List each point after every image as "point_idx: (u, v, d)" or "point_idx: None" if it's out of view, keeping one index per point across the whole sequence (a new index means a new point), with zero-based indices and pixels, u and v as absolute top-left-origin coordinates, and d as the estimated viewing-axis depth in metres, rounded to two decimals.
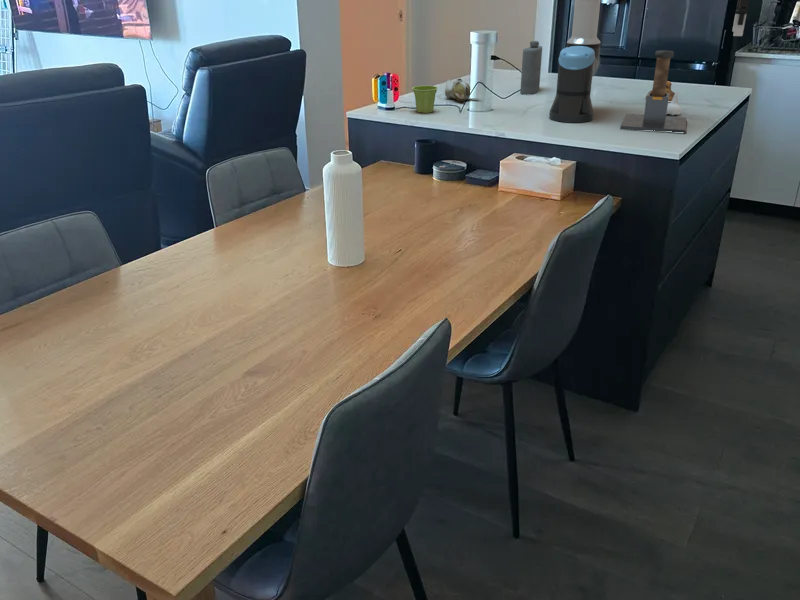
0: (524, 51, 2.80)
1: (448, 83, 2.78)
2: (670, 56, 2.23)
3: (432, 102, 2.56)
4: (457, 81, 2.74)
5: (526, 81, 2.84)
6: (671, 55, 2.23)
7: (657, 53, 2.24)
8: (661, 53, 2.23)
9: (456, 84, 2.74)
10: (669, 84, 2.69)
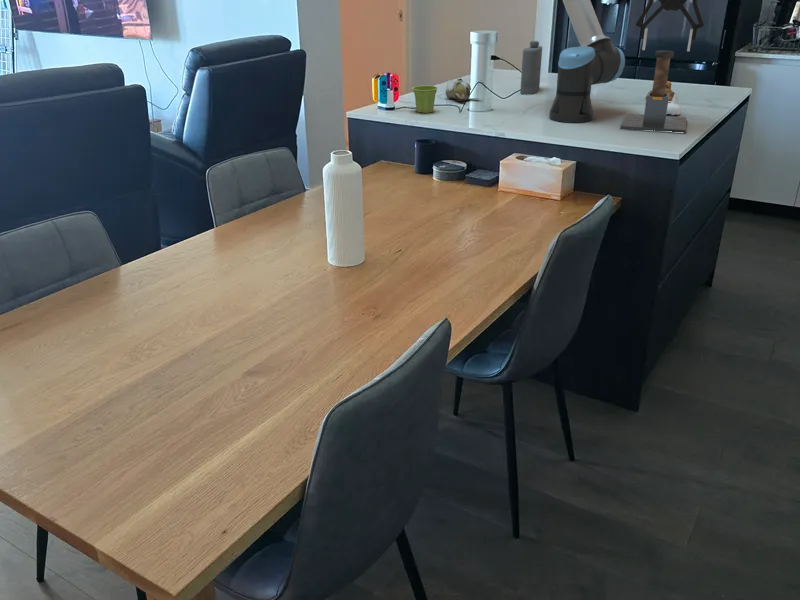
0: (524, 51, 2.80)
1: (449, 83, 2.78)
2: (670, 56, 2.23)
3: (432, 102, 2.56)
4: (458, 81, 2.74)
5: (526, 81, 2.84)
6: (671, 55, 2.23)
7: (657, 53, 2.24)
8: (661, 53, 2.23)
9: (456, 84, 2.74)
10: (669, 84, 2.69)
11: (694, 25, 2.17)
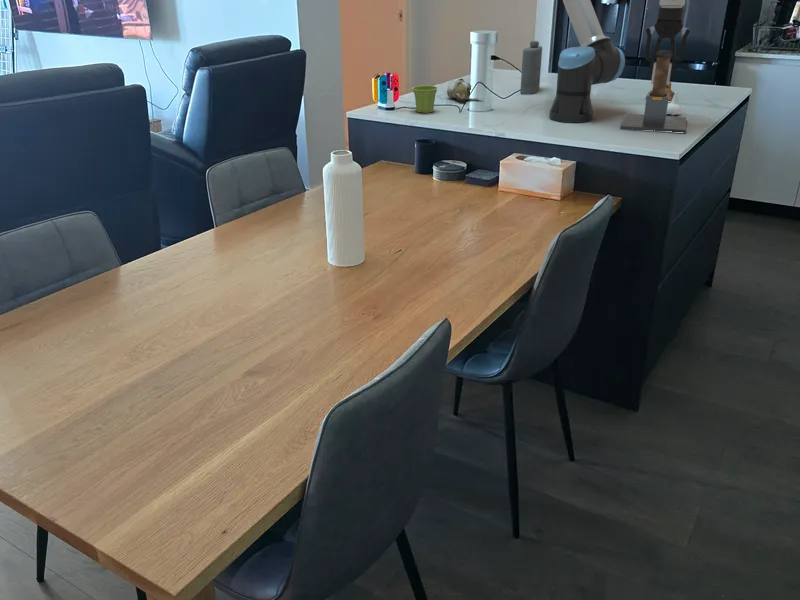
0: (524, 51, 2.80)
1: (450, 83, 2.78)
2: (670, 56, 2.23)
3: (432, 102, 2.56)
4: (459, 81, 2.75)
5: (526, 81, 2.84)
6: (671, 55, 2.23)
7: (657, 53, 2.24)
8: (661, 53, 2.23)
9: (457, 84, 2.74)
10: (669, 84, 2.69)
11: (674, 59, 2.24)
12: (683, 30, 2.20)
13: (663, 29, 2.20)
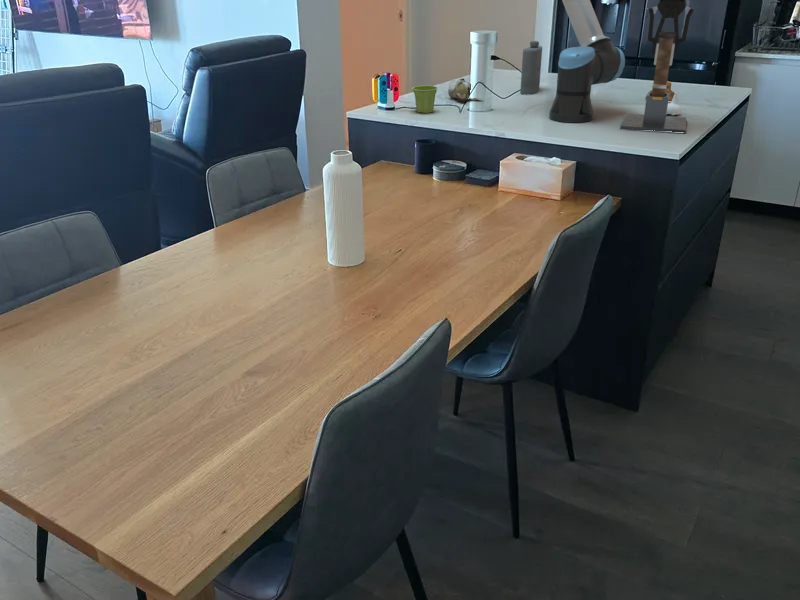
0: (524, 51, 2.80)
1: (451, 83, 2.78)
2: (673, 36, 2.20)
3: (432, 102, 2.56)
4: (460, 81, 2.75)
5: (526, 81, 2.84)
6: (674, 35, 2.20)
7: (660, 33, 2.21)
8: (664, 33, 2.20)
9: (458, 84, 2.74)
10: (669, 84, 2.69)
11: (677, 39, 2.21)
12: (686, 10, 2.17)
13: (666, 9, 2.18)
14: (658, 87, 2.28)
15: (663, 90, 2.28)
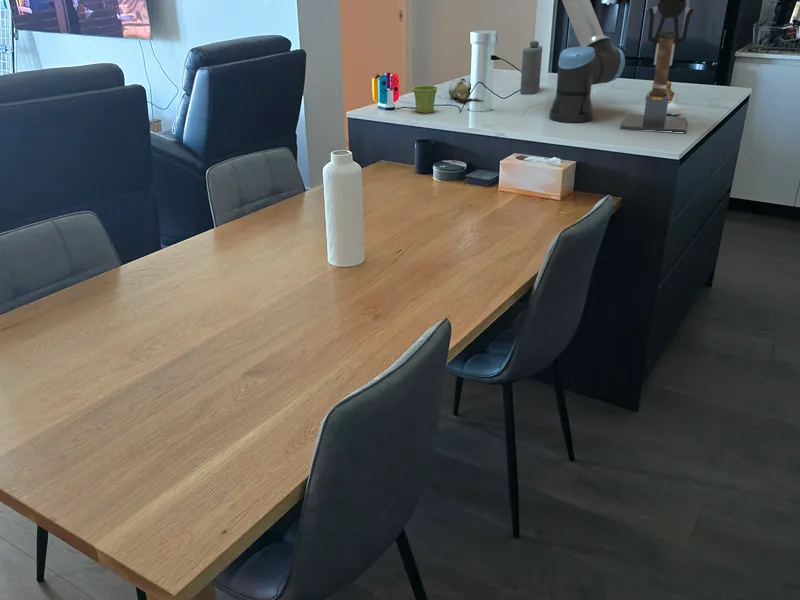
0: (524, 51, 2.80)
1: (452, 83, 2.78)
2: (673, 36, 2.20)
3: (432, 102, 2.56)
4: (460, 81, 2.75)
5: (526, 81, 2.84)
6: (674, 35, 2.20)
7: (660, 33, 2.21)
8: (664, 33, 2.20)
9: (458, 83, 2.74)
10: (669, 84, 2.69)
11: (677, 39, 2.21)
12: (686, 10, 2.17)
13: (666, 9, 2.18)
14: (658, 87, 2.28)
15: (663, 90, 2.28)
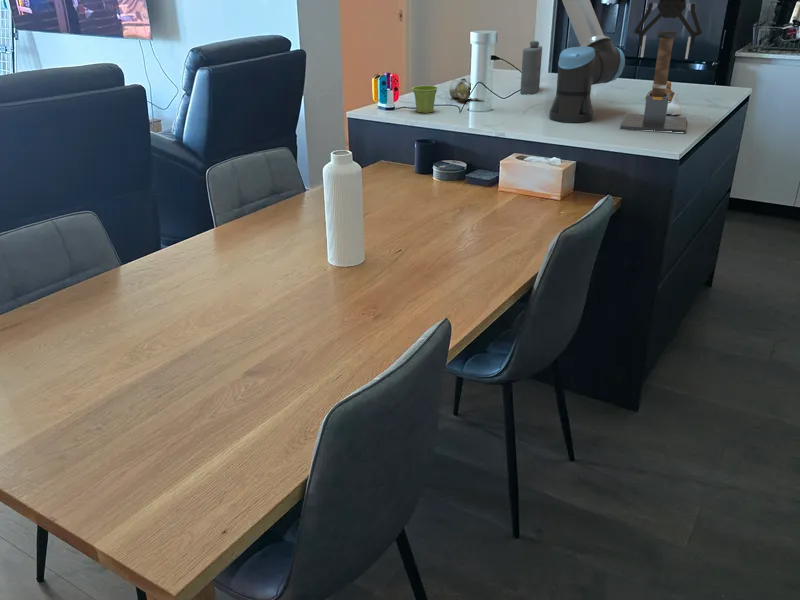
0: (524, 51, 2.80)
1: (453, 83, 2.79)
2: (673, 36, 2.20)
3: (432, 102, 2.56)
4: (461, 81, 2.75)
5: (526, 81, 2.84)
6: (674, 35, 2.20)
7: (660, 33, 2.21)
8: (664, 33, 2.20)
9: (459, 83, 2.74)
10: (669, 84, 2.69)
11: (692, 33, 2.18)
12: (688, 6, 2.17)
13: (666, 8, 2.18)
14: (658, 87, 2.28)
15: (663, 90, 2.28)
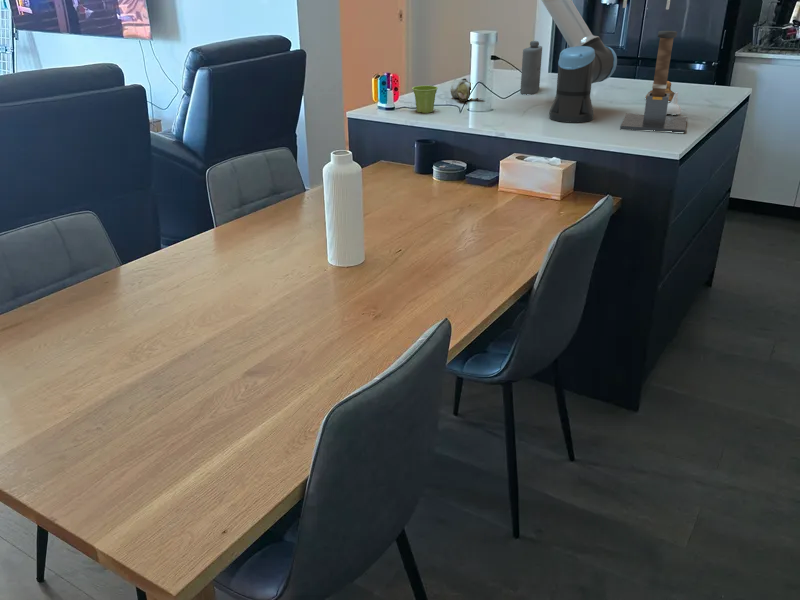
0: (524, 51, 2.80)
1: (454, 83, 2.79)
2: (673, 36, 2.20)
3: (432, 102, 2.56)
4: (462, 81, 2.75)
5: (526, 81, 2.84)
6: (674, 35, 2.20)
7: (660, 33, 2.21)
8: (664, 33, 2.20)
9: (460, 83, 2.75)
10: (669, 84, 2.69)
11: None
12: None
13: None
14: (658, 87, 2.28)
15: (663, 90, 2.28)
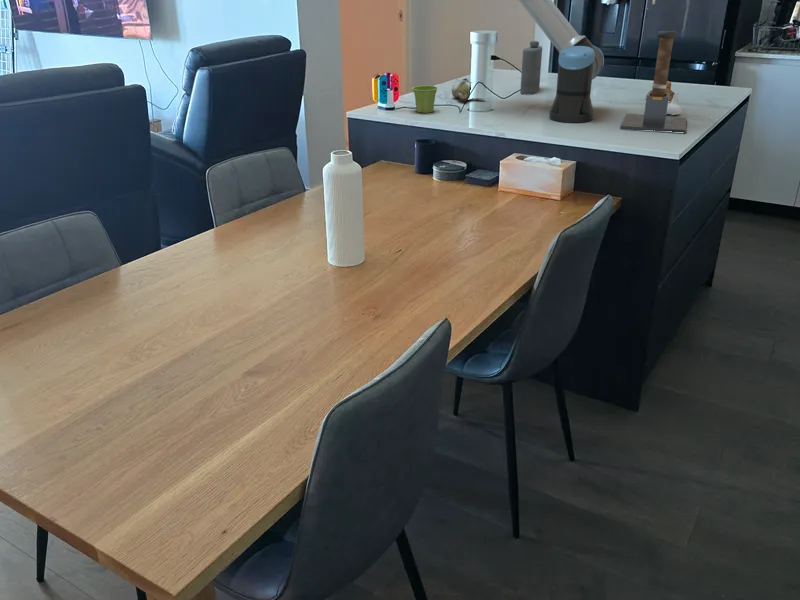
0: (524, 51, 2.80)
1: (455, 82, 2.79)
2: (673, 36, 2.20)
3: (432, 102, 2.56)
4: (462, 81, 2.75)
5: (526, 81, 2.84)
6: (674, 35, 2.20)
7: (660, 33, 2.21)
8: (664, 33, 2.20)
9: (461, 83, 2.75)
10: (669, 84, 2.69)
11: None
12: None
13: None
14: (658, 87, 2.28)
15: (663, 90, 2.28)
